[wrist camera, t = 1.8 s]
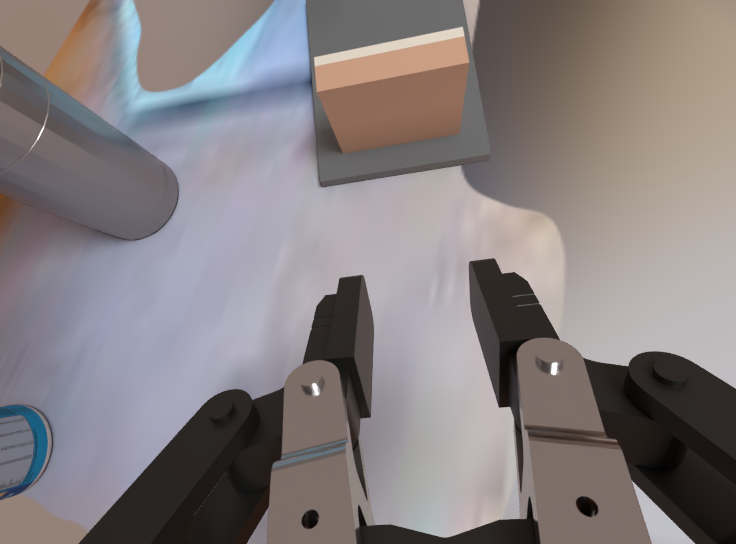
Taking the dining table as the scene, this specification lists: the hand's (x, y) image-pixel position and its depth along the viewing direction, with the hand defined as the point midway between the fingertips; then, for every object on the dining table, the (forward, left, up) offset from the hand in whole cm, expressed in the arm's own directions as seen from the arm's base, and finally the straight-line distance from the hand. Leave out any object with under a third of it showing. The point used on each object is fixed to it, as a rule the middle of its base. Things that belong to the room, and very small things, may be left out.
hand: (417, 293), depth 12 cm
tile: (0, +19, -21) cm, 28 cm away
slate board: (0, +26, -22) cm, 34 cm away
